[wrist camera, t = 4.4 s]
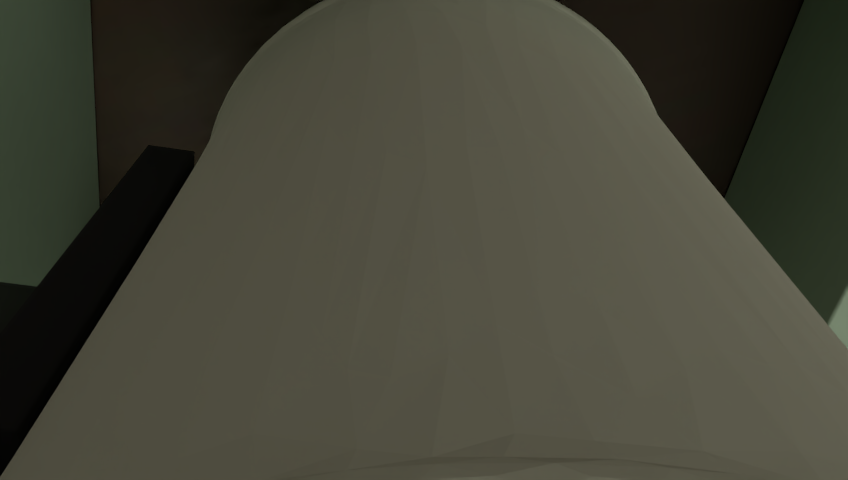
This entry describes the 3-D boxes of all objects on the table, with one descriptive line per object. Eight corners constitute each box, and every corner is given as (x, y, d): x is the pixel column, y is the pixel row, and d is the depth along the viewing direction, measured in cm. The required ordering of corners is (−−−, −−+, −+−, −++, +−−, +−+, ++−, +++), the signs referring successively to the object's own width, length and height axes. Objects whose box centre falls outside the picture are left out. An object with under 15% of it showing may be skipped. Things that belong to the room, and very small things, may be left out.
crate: (30, -254, 16) (-161, -292, 10) (882, -90, 17) (1085, -51, 12) (70, 302, 22) (-34, 451, 17) (682, 379, 24) (757, 534, 19)
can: (108, 164, 15) (-626, 1014, 4) (501, -150, 12) (1045, 93, 2) (393, 440, 18) (369, 1254, 8) (740, 247, 16) (1370, 1082, 5)
